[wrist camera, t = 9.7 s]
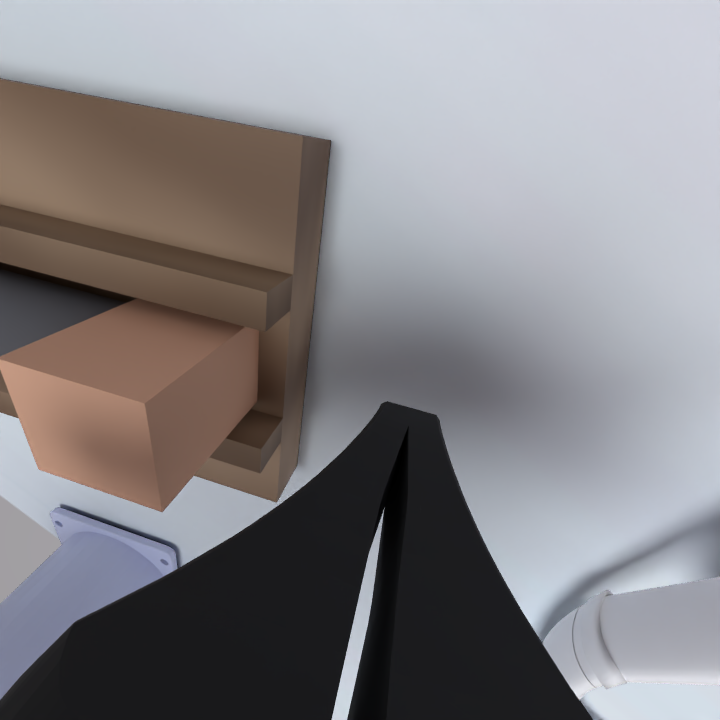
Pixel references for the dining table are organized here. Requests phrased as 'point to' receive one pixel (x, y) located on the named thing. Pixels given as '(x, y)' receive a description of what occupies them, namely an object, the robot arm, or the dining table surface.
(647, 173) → the dining table surface
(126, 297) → the channel deck
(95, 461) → the grey slider with block
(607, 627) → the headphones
